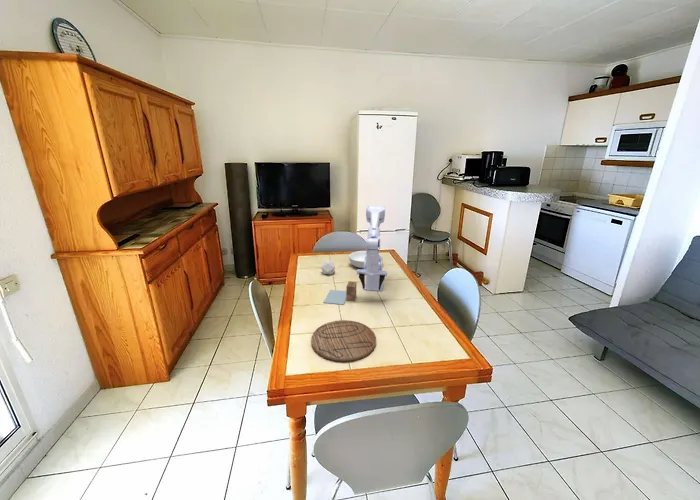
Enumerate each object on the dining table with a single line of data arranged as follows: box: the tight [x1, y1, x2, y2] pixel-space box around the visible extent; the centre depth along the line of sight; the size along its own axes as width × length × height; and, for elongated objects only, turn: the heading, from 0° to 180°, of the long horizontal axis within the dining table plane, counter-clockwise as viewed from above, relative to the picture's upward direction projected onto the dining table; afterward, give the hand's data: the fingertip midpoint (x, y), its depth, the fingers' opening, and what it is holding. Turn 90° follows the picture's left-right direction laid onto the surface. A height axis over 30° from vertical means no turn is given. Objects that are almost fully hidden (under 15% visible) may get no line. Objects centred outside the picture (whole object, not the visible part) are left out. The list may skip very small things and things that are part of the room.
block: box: [345, 281, 358, 303], centre depth 149 cm, size 4×6×8 cm, turn 170°
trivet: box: [310, 319, 377, 364], centre depth 117 cm, size 25×25×2 cm
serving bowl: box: [348, 250, 383, 269], centre depth 192 cm, size 21×21×7 cm
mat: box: [323, 289, 347, 306], centre depth 151 cm, size 10×14×1 cm
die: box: [320, 260, 336, 276], centre depth 179 cm, size 8×9×10 cm
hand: (371, 288), depth 147 cm, fingers open, 7 cm apart
